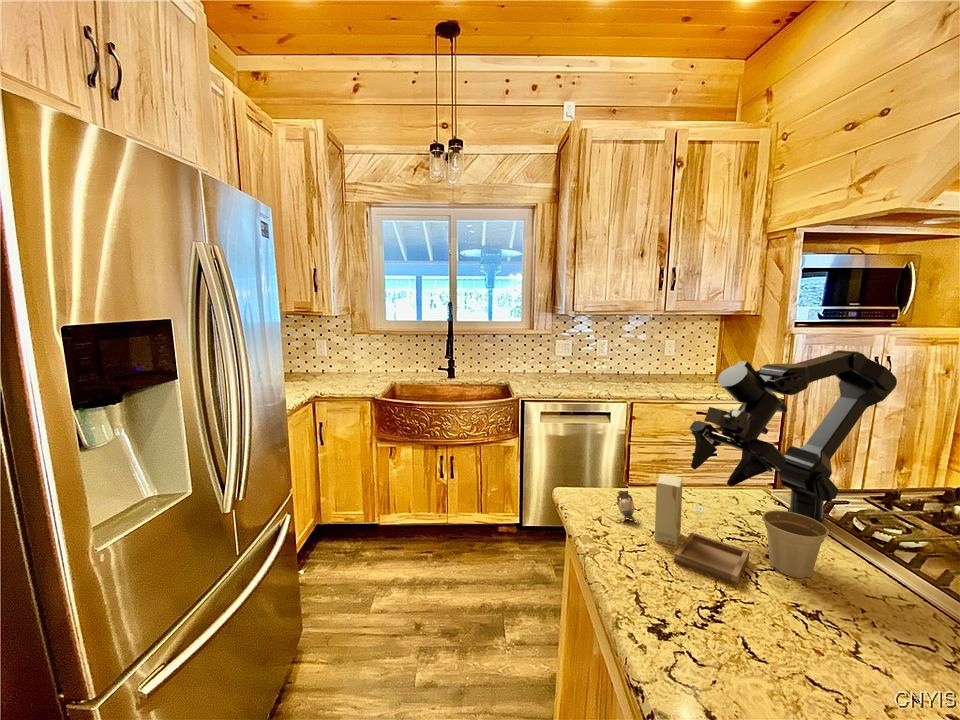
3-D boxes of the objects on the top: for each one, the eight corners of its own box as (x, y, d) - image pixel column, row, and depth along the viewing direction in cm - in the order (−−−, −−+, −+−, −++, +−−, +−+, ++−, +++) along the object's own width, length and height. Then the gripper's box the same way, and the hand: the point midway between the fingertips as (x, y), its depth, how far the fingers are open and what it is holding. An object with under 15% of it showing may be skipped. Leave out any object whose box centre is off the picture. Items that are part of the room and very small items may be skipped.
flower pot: (838, 588, 68) (842, 539, 67) (774, 581, 70) (777, 534, 69) (805, 556, 77) (808, 512, 76) (750, 551, 79) (752, 508, 78)
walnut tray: (690, 540, 83) (691, 532, 83) (748, 560, 76) (749, 551, 76) (674, 562, 76) (674, 553, 75) (736, 586, 69) (737, 576, 69)
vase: (609, 511, 96) (612, 486, 95) (633, 514, 95) (636, 489, 94) (614, 522, 90) (616, 496, 90) (639, 525, 90) (642, 499, 89)
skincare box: (677, 547, 81) (679, 487, 79) (653, 541, 83) (655, 483, 82) (681, 532, 86) (683, 476, 85) (658, 527, 88) (660, 472, 87)
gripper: (695, 385, 91) (654, 440, 90) (774, 401, 73) (724, 471, 72) (724, 414, 94) (685, 468, 93) (807, 437, 76) (760, 504, 75)
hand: (709, 476), depth 83 cm, fingers open, 9 cm apart
